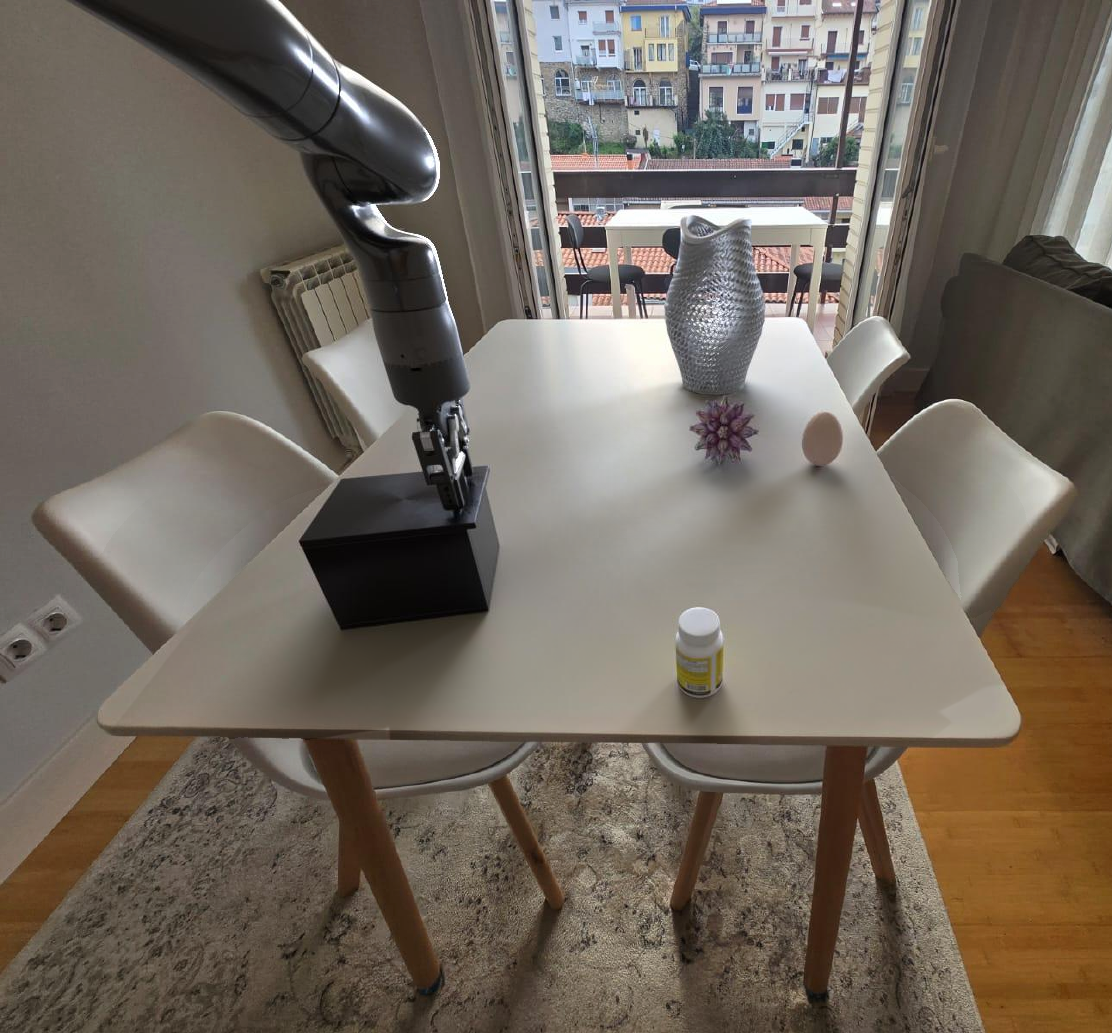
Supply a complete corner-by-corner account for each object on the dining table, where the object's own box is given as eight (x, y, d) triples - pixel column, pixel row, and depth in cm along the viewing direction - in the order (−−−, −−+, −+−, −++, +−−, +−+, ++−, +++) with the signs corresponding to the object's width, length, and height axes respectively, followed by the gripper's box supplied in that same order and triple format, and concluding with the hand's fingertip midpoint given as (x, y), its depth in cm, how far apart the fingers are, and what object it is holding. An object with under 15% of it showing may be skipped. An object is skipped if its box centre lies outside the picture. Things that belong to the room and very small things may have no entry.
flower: (762, 475, 98) (704, 478, 92) (727, 446, 107) (672, 447, 101) (780, 412, 93) (719, 412, 87) (741, 387, 101) (684, 385, 96)
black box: (499, 546, 79) (482, 471, 72) (489, 611, 68) (467, 530, 61) (373, 560, 76) (343, 484, 70) (340, 630, 65) (301, 547, 59)
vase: (653, 395, 127) (645, 221, 108) (682, 365, 145) (680, 210, 126) (750, 405, 122) (759, 223, 103) (768, 372, 139) (779, 212, 120)
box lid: (490, 470, 72) (481, 434, 70) (476, 528, 61) (465, 488, 58) (343, 484, 70) (328, 446, 67) (300, 547, 59) (281, 505, 56)
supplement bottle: (706, 657, 61) (706, 598, 56) (731, 685, 58) (734, 625, 53) (668, 675, 59) (665, 616, 54) (692, 707, 56) (691, 646, 51)
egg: (844, 472, 96) (853, 418, 90) (805, 475, 95) (812, 421, 90) (831, 454, 101) (838, 403, 96) (794, 456, 101) (800, 405, 95)
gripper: (399, 333, 62) (437, 466, 71) (361, 376, 50) (412, 528, 59) (470, 329, 63) (498, 461, 72) (448, 370, 52) (485, 521, 61)
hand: (459, 491), depth 66 cm, fingers open, 7 cm apart
